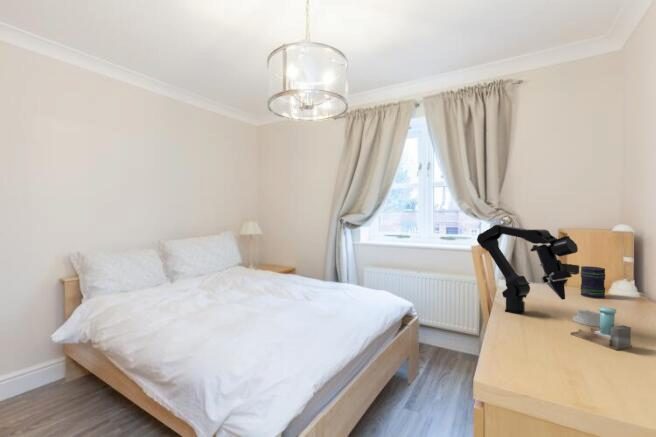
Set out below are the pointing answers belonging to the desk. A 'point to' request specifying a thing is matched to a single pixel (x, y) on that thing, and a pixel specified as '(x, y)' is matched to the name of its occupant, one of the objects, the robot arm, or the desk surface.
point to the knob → (606, 321)
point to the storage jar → (592, 282)
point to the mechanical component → (588, 317)
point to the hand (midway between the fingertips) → (563, 299)
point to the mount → (617, 341)
